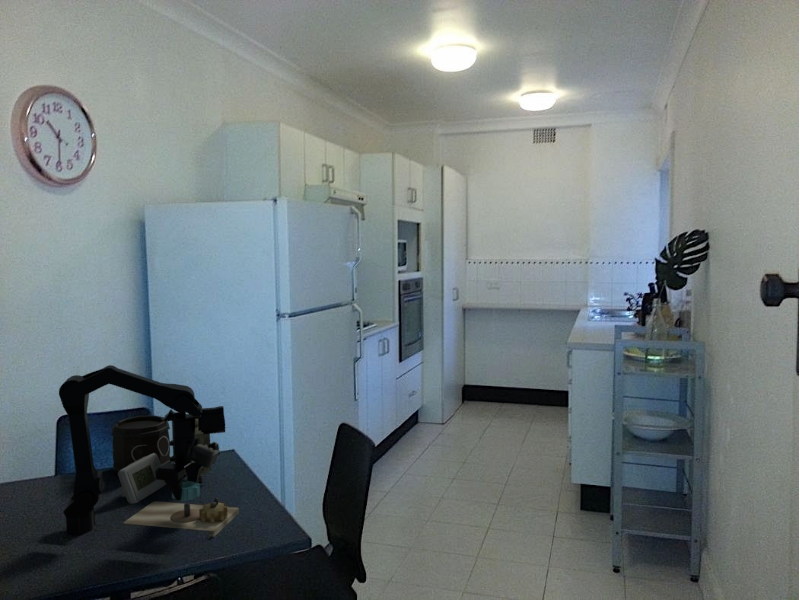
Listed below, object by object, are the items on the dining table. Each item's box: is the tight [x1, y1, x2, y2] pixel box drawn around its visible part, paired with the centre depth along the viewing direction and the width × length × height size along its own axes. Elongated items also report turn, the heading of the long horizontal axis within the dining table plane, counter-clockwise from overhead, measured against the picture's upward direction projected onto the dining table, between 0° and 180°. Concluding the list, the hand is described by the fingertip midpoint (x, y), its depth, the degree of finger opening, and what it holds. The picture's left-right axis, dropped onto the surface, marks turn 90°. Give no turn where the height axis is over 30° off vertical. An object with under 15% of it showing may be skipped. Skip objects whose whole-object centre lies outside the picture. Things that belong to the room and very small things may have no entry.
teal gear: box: [171, 480, 201, 502], centre depth 165 cm, size 7×7×3 cm
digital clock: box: [117, 453, 167, 505], centre depth 182 cm, size 16×9×11 cm, turn 155°
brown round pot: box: [110, 415, 172, 477], centre depth 204 cm, size 18×18×16 cm
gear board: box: [122, 497, 240, 538], centre depth 166 cm, size 14×25×6 cm, turn 79°
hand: (186, 494), depth 165 cm, fingers closed on teal gear, 7 cm apart
